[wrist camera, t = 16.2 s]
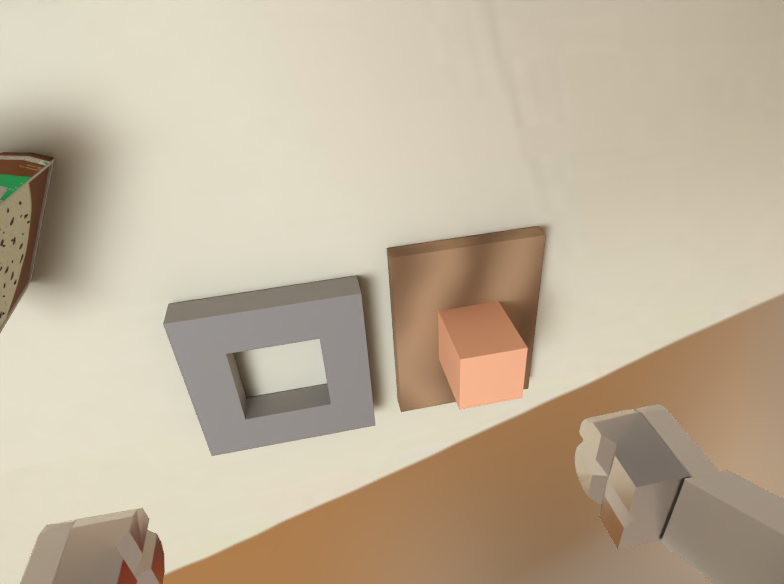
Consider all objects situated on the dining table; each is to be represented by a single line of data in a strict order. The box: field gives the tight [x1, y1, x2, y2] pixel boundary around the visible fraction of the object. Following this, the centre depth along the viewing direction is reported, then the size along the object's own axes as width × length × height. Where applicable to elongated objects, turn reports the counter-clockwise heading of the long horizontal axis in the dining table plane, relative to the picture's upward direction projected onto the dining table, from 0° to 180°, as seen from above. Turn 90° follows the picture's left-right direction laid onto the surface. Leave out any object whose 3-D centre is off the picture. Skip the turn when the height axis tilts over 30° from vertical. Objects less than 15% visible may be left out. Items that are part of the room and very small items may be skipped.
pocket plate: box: [163, 276, 375, 456], centre depth 44 cm, size 14×14×2 cm
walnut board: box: [387, 226, 546, 412], centre depth 46 cm, size 12×16×2 cm
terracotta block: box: [438, 301, 528, 409], centre depth 43 cm, size 5×5×6 cm
